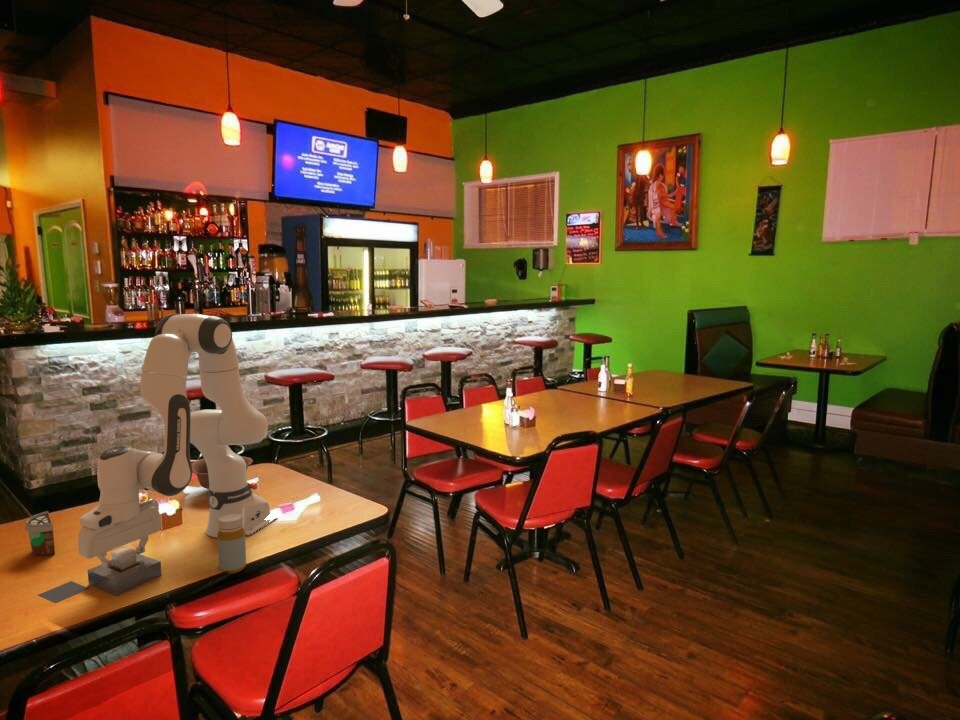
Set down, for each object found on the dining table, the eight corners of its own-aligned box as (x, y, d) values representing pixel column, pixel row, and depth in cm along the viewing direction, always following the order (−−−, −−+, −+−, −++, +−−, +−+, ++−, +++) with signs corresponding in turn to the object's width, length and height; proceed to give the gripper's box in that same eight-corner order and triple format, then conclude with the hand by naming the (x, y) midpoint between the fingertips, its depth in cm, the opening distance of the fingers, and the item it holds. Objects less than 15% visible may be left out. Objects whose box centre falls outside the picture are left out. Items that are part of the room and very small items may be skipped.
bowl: (202, 506, 213) (200, 476, 211) (182, 489, 229) (181, 461, 227) (263, 491, 227) (262, 463, 226) (241, 476, 244) (239, 450, 242)
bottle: (250, 562, 172) (247, 512, 169) (241, 574, 165) (238, 522, 163) (225, 562, 171) (222, 512, 169) (215, 574, 164) (212, 522, 162)
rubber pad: (71, 584, 159) (71, 580, 159) (89, 592, 155) (89, 588, 155) (37, 598, 152) (37, 595, 152) (56, 606, 148) (55, 603, 148)
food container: (25, 547, 180) (22, 515, 178) (51, 541, 184) (48, 510, 182) (29, 562, 170) (25, 529, 169) (55, 556, 174) (52, 523, 173)
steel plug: (128, 574, 162) (126, 546, 161) (137, 578, 160) (135, 549, 159) (113, 581, 158) (111, 552, 157) (123, 585, 157) (120, 556, 156)
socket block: (133, 568, 167) (132, 551, 167) (161, 578, 162) (160, 561, 161) (89, 588, 157) (87, 570, 156) (117, 599, 151) (116, 581, 151)
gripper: (150, 494, 167) (153, 542, 169) (72, 520, 149) (77, 573, 151) (165, 498, 164) (168, 546, 166) (87, 525, 146) (92, 579, 148)
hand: (124, 559), depth 159 cm, fingers open, 8 cm apart
